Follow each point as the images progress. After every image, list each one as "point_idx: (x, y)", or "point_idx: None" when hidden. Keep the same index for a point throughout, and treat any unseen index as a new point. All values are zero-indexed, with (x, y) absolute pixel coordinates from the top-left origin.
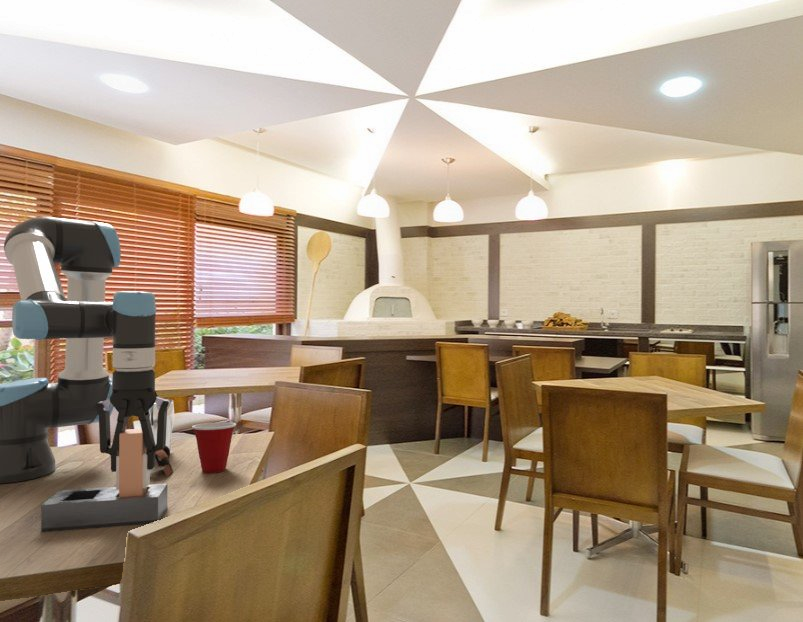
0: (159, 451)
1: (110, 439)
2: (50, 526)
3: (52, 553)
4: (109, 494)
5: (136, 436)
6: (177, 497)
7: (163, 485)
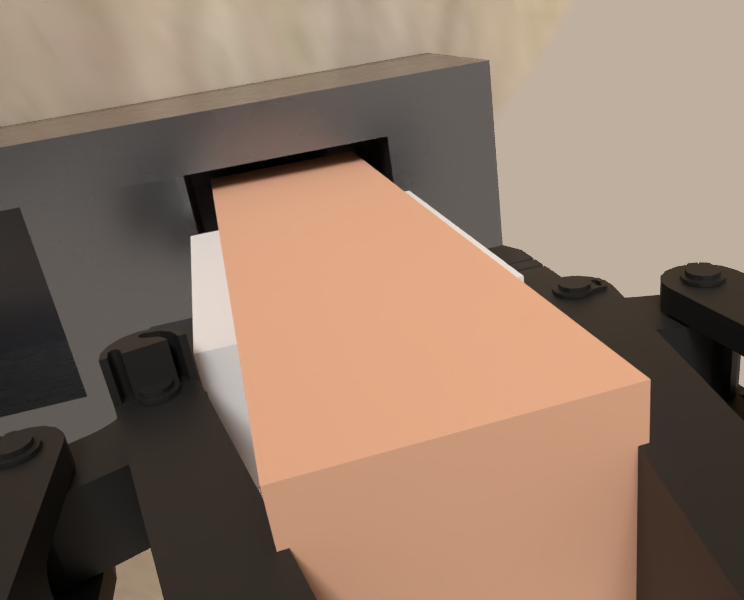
0: None
1: (40, 520)
2: None
3: (128, 593)
4: (155, 307)
5: None
6: None
7: (474, 112)
